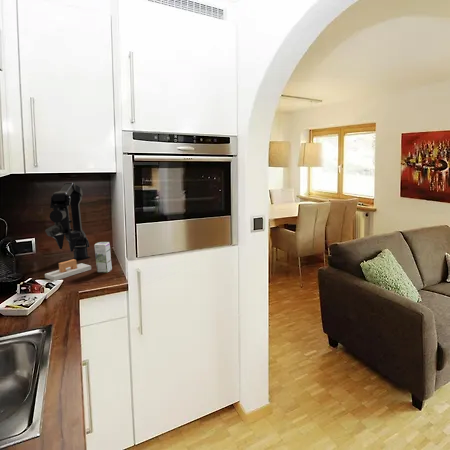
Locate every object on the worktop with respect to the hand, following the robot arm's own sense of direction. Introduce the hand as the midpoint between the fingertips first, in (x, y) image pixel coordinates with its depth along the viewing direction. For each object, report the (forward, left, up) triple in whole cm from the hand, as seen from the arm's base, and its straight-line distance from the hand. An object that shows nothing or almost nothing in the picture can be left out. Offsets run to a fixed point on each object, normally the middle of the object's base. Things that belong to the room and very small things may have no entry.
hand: (66, 250), depth 181 cm
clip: (0, 0, -12) cm, 12 cm away
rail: (0, 0, -12) cm, 12 cm away
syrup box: (-12, +12, -12) cm, 21 cm away
